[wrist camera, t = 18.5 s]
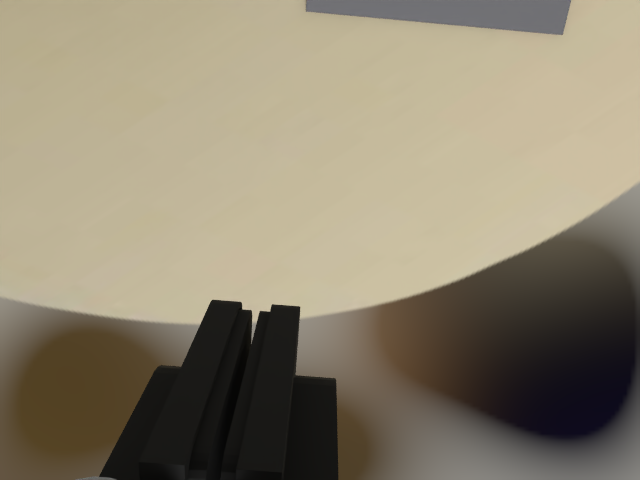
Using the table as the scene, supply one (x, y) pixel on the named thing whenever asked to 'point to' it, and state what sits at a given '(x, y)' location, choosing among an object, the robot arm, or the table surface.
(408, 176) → the table surface
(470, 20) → the mat
